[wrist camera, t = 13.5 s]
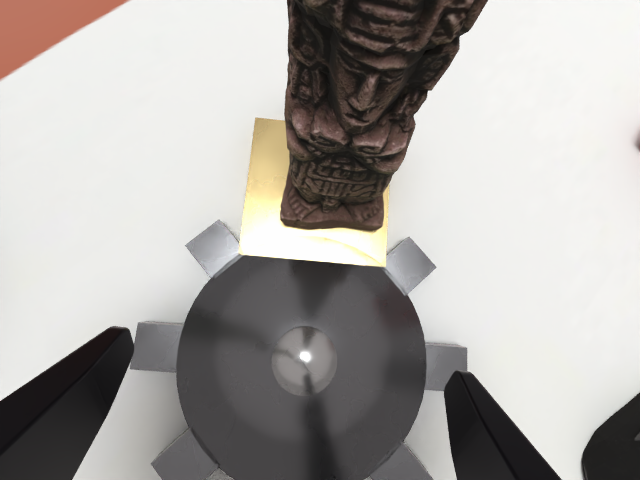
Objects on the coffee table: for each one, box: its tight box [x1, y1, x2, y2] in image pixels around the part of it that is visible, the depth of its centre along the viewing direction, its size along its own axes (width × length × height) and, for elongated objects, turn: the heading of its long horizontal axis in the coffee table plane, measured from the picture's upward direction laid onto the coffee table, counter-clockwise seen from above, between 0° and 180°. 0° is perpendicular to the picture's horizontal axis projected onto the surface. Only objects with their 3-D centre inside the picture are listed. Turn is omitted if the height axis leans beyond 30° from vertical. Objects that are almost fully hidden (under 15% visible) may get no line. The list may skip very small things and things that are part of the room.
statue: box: [280, 0, 488, 231], centre depth 13 cm, size 7×7×20 cm
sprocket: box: [130, 118, 467, 480], centre depth 21 cm, size 27×21×2 cm
